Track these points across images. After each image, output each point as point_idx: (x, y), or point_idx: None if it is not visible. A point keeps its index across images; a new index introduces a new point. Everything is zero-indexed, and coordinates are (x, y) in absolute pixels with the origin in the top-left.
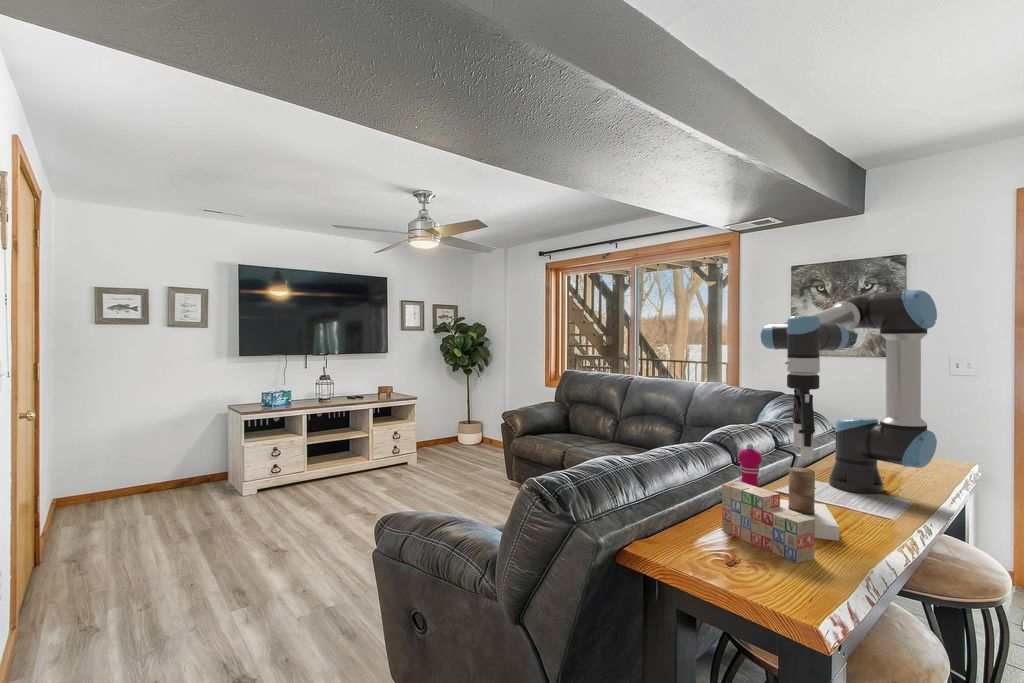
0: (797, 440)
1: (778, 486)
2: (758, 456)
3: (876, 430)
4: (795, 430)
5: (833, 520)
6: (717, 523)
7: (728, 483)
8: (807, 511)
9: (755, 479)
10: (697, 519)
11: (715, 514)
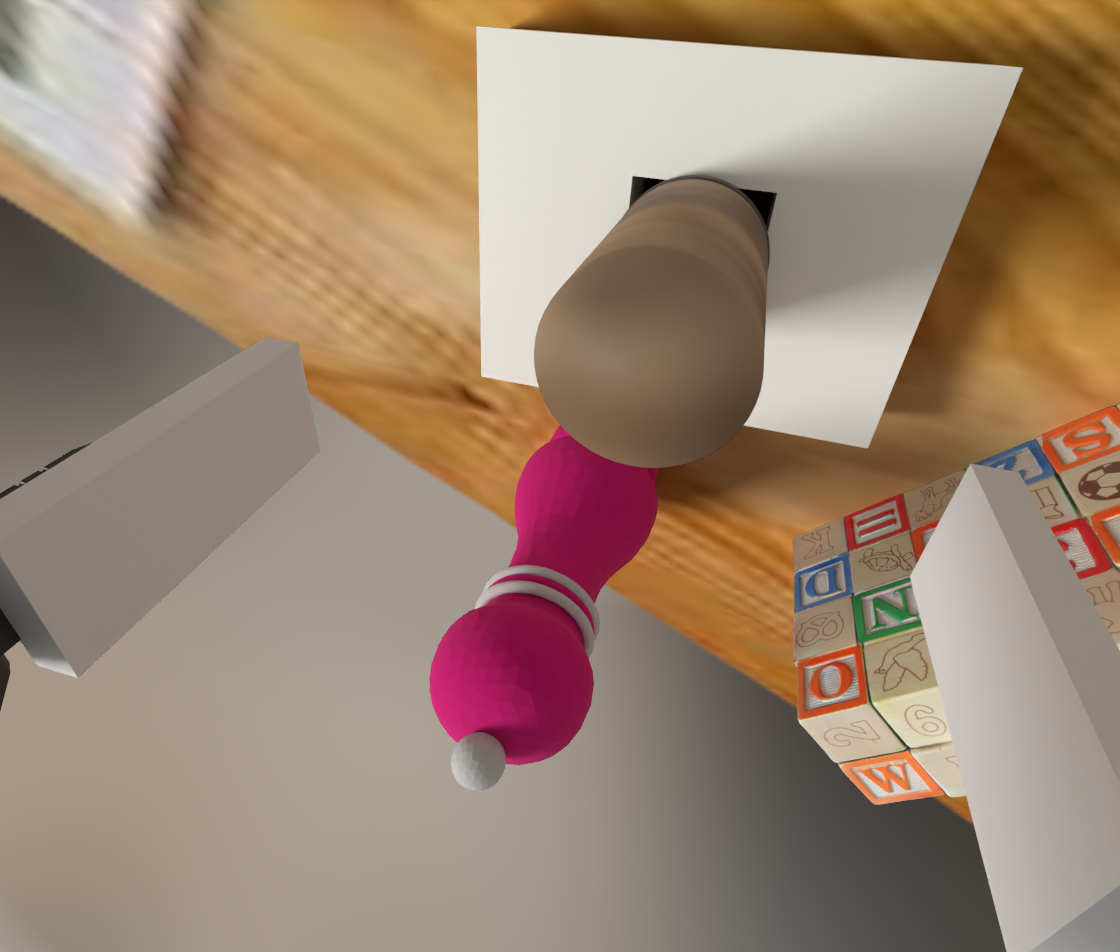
0: (257, 465)
1: (53, 185)
2: (551, 682)
3: None
4: (160, 579)
5: (868, 72)
6: (769, 605)
7: (857, 778)
8: (767, 245)
9: (588, 564)
10: (734, 654)
11: (651, 583)
